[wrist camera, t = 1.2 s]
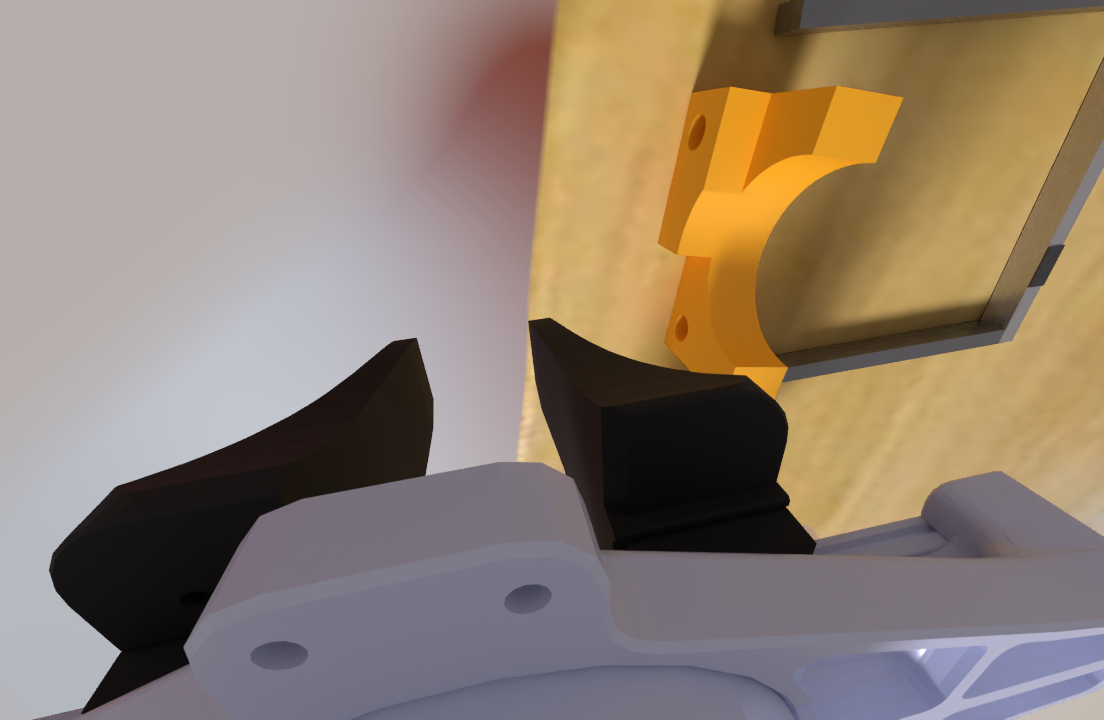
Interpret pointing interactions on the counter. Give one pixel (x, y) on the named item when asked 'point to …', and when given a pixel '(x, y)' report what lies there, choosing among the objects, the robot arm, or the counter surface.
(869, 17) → the frame
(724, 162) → the pipe clamp
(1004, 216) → the counter surface
